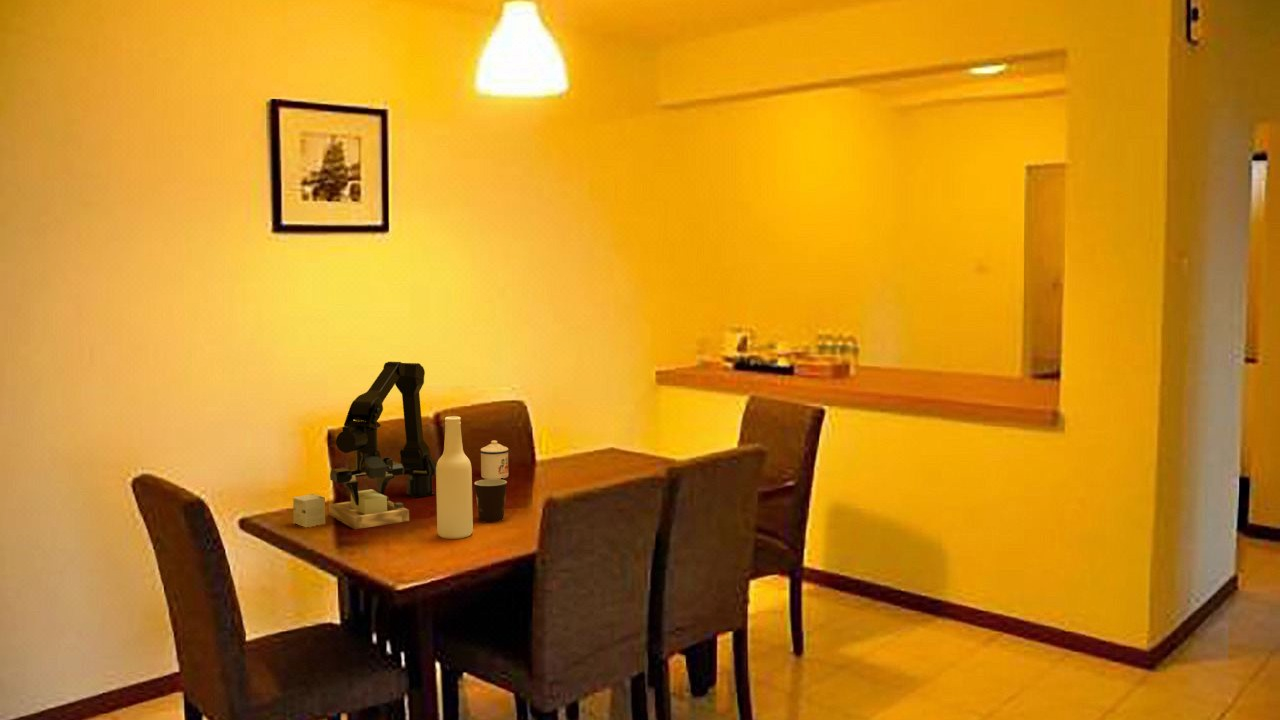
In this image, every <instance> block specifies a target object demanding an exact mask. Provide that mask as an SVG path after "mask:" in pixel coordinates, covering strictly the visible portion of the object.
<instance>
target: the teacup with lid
mask: <svg viewBox="0 0 1280 720" xmlns="http://www.w3.org/2000/svg"><path fill="white" fill-rule="evenodd" d="M509 450H510V449H509V448H508V447H507V446H505V445H502V444H500V443H498V440H494V439H493V440H491V441H490V444H487V445H486V446H483V447H481V448H480V450H479V452H480V475H481V478H482V479H483V480H486V479H500V480H502V479H501V478H503V479H507V478H508V477H509V452H510V451H509Z"/></svg>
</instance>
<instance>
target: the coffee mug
mask: <svg viewBox="0 0 1280 720" xmlns="http://www.w3.org/2000/svg"><path fill="white" fill-rule="evenodd" d="M473 484H474V491H475V499H476V506H477V512H478V521H480V520H481V521H480V522H482V521H486V522H485V523H494V522H493V521H498V522H500V521H499V520H501V521H503V520H504V518H505V517H504V516H505V515H504V514H505V505H506V495H507V494H506V493H507V485H508V481H507V480H504V479H480V480H476V481H475V482H474V483H473ZM502 519H503V520H502Z"/></svg>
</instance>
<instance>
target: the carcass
mask: <svg viewBox="0 0 1280 720" xmlns="http://www.w3.org/2000/svg"><path fill="white" fill-rule="evenodd" d="M328 515H329V516H330V517H331V516H332V518H333V517H334V518H333V519H335V518H336V519H335V520H337V521H339V522H340V521H341V522H340V523H343V524H344V525H346V526H348V527H349V528H352V529H353V530H359V529H366V528H372V527H379V526H386V525H392V524H399V523H405V522H410V509H408V508H406V507H404V503H403V502H393V501H391V500H390V499H389V496H387V511H385V512H379V513H372V514H363V513H362V512H360V511H358V510H356V509H354V508H353V507H351V500H350V501H344V502H343V501H342V502H336V503H330V504H328Z"/></svg>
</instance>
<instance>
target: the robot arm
mask: <svg viewBox="0 0 1280 720" xmlns="http://www.w3.org/2000/svg"><path fill="white" fill-rule="evenodd" d="M425 374H426V372H425V369H424V366H423V365H422V364H421V363H418V362H417V363H415V362H402V361H386V362H385V363H384V365H383V367H382V370H381V371H380V373H379V374H378V375H377V377H376V379H375V380H374V382H372V384H371V386H370V387H369V389H368V390H367V391H366V392H364V393H362V394H359V395H358V396H357V397H356V398H355V399H354V400H353V401H352V402H351V404H350V405H349V409H348V412H347V415H346V417H345V420H344V423H343V426H342V427H341V428H342V429H341V430H342V431H341V432H339V433H338V434H337V437H336V439H335V445H336V448H337V449H338V450H339V451H340V452H342V453H344V454H348V453H352V452H354V453H353V454H355V464H354V469H348V468H346V467H341V468H334V469H331V471H330V473H329V479H330V481H332V482H335V483H337V484H340V483H343V484H345V485H346V487H347V488H348V490H349V493H350V496H351V495H352V497H353V499H354V501H355V504H356V505H359V496H358V491H359V488H358V487H359V483H360V482H359V481H358V480H357V478H358V477H366V476H367V478H368V479H375V478H376V490H377V491H376V492H378V493H380V494H382V495H384V494H385V491H386V488H387V486H388V483H389V482H390V481H391V480H394V479H395V476H400V475H401V476H402V475H403V476H406V475H407V476H408V477H407V478H408V479H406V492H405V493H406V495H408V496H410V497H412V498H421V497H428V496H435V495H436V493H435V492H433V476H436V466H437V463H436V462H435V461H434V459H433V457H432V455H431V448H430V447H429V446H428V444H427V442H425V440H424V435H423V424H422V423H423V422H422V410H421V397H420V392H421V390H422V388H423V386H424V384H425ZM394 386H395V387H396V388H397V390H398V391H399V392H400V394H401V398H402V410H403V419H404V420H403V421H404V432H405V434H404V435H405V444H404V446H403V448H402V449H401V448H400V452H399V454H400V462H397V461H393V458H392V457H391V456H388V457H387V456H386V457H384V458H383V457H381V452H380V450H379V448H378V447H379V446H378V428H380V427H381V426H382V425H381V423H380V422H378V420H379V419H380V417H381V415H382V413H383V411H384V405H383V403H384V401H385V399H387V396H388V395H389V393H390V391H391V390H392V389H393V388H394ZM384 496H385V495H384Z"/></svg>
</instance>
